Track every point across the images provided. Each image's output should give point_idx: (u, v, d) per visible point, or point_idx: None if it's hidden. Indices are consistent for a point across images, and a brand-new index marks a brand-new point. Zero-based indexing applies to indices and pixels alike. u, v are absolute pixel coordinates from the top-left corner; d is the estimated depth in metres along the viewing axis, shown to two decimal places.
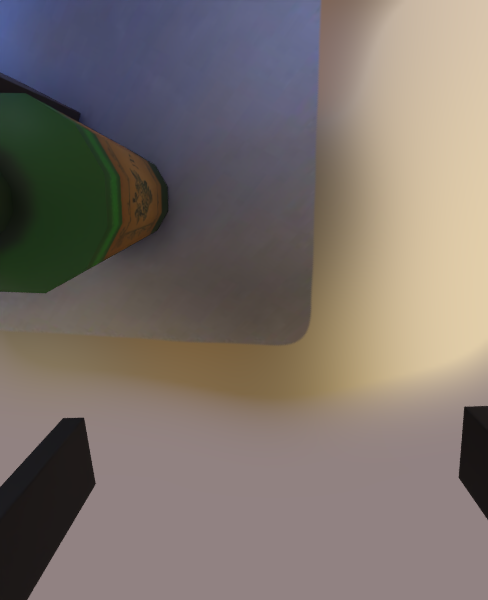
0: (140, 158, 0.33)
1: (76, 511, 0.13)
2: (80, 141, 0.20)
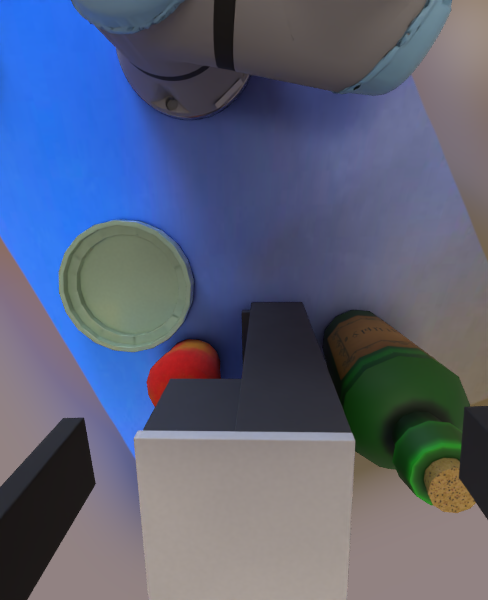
0: (383, 322, 0.45)
1: (76, 511, 0.13)
2: (441, 367, 0.33)
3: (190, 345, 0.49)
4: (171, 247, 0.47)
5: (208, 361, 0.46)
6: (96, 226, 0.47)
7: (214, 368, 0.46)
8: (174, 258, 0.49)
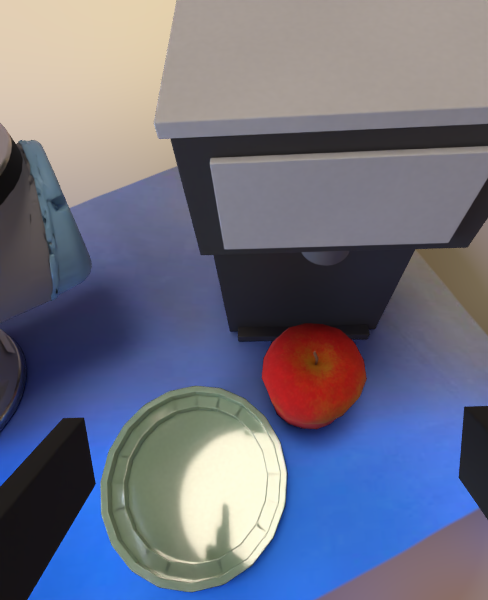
0: None
1: (76, 511, 0.13)
2: None
3: None
4: (146, 407, 0.38)
5: None
6: (103, 510, 0.34)
7: None
8: (164, 409, 0.39)
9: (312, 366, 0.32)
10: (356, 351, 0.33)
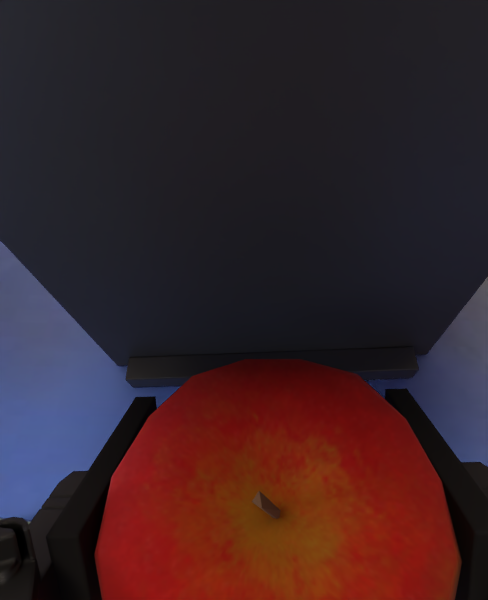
0: None
1: None
2: None
3: None
4: None
5: None
6: None
7: None
8: None
9: (260, 532, 0.08)
10: (423, 464, 0.09)
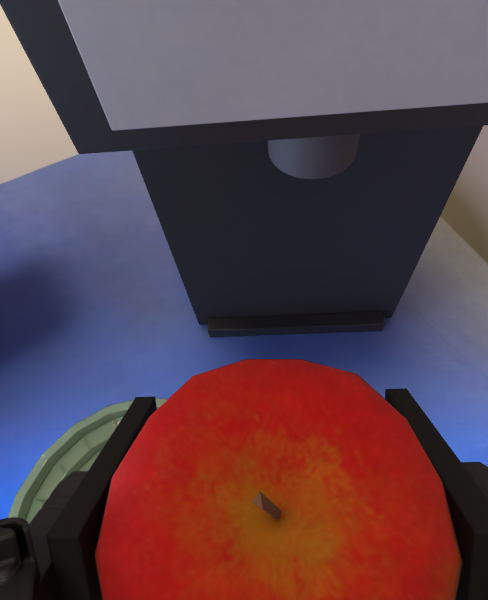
0: None
1: None
2: None
3: None
4: (75, 429, 0.27)
5: None
6: None
7: None
8: (102, 432, 0.28)
9: (260, 532, 0.08)
10: (424, 464, 0.09)
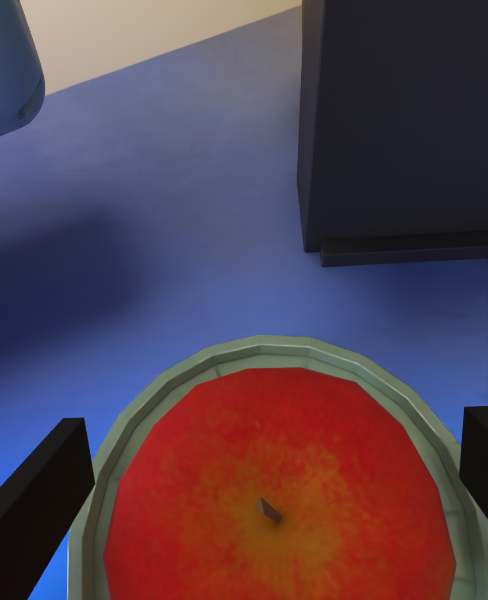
0: None
1: (76, 511, 0.13)
2: None
3: None
4: (164, 377, 0.19)
5: None
6: None
7: None
8: None
9: (262, 535, 0.09)
10: (419, 471, 0.09)
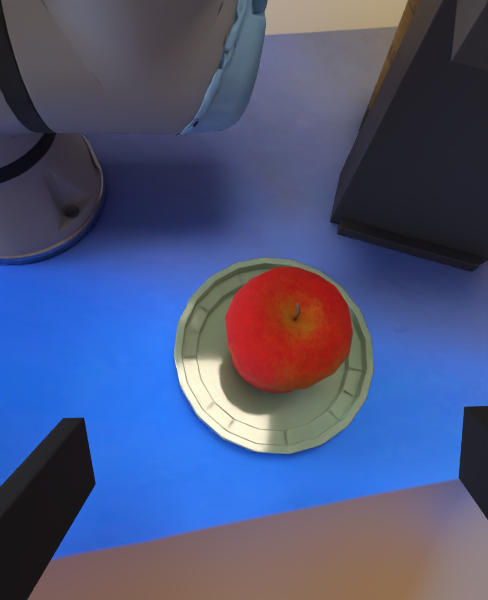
0: (381, 71, 0.41)
1: (76, 511, 0.13)
2: None
3: None
4: (237, 265, 0.35)
5: None
6: (176, 351, 0.32)
7: None
8: (252, 275, 0.36)
9: (289, 320, 0.26)
10: (348, 319, 0.26)
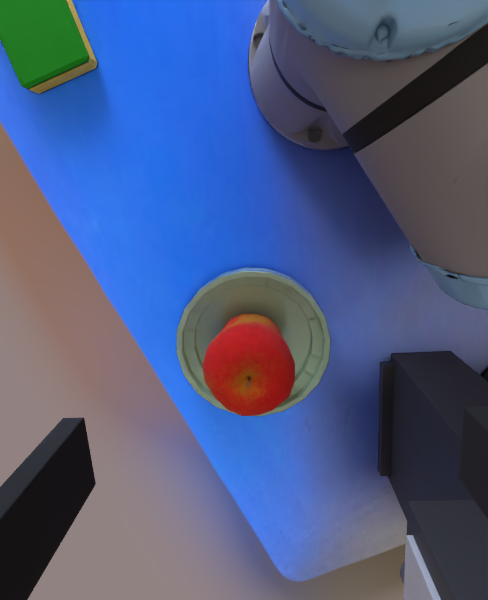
0: None
1: (76, 511, 0.13)
2: None
3: (249, 320, 0.40)
4: (309, 299, 0.41)
5: (278, 336, 0.37)
6: (222, 278, 0.41)
7: (286, 344, 0.36)
8: (309, 309, 0.42)
9: (244, 376, 0.35)
10: (261, 413, 0.36)
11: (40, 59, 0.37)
